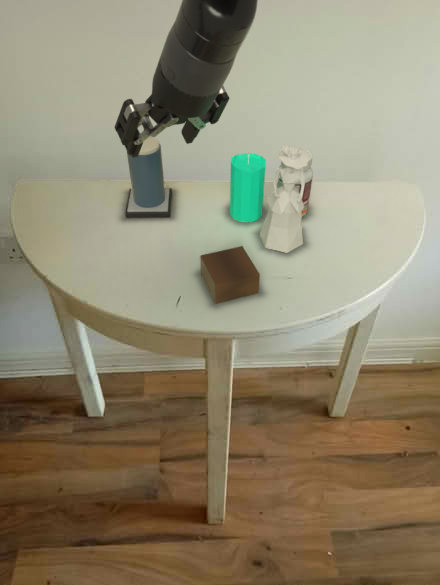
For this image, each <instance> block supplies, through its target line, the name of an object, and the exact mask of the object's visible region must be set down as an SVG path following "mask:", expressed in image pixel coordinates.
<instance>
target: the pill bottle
mask: <svg viewBox="0 0 440 585" xmlns="http://www.w3.org/2000/svg"><path fill="white" fill-rule="evenodd" d="M292 147H293V146H292ZM293 148H299V149H300V150H301V151H303V152H304V153H305V154H306V155H307V156H308V160H307V166H304V167H302V168H303V170H304V171H303V176H304V183H305V186H304V191H303V196H302V201H303V205H304V208H303V209H302V217H304V216H305V215H306V214H307V212H308V209H309V204H310V196H311V190H312V184H313V179H314V178H313V177H314V171H313V168H312V162H313V153H312V152H311V151H310V150H308V149H306V148H304V147H296V146H294V147H293ZM284 166H285V164H284V163H283V162H282V161H281V160H280V165H279V166H278V167H281V168H283V167H284ZM299 177H300V176H299ZM281 186H283V182H282V178H281V175H280V178H279V180H278V183H277V188H279V187H281ZM294 187H295V188H298V191H299V193H300V191H301V180H300V178H299V179H298V182H297V183H295V186H294Z"/></svg>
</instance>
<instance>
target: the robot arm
mask: <svg viewBox="0 0 440 585" xmlns="http://www.w3.org/2000/svg"><path fill="white" fill-rule="evenodd" d="M257 10H258V0H181V4H180V6H179V9H178V12H177V15H176V18H175V21H174V22H173V24H172V26H171V27H170V30H169V31H168V34H167V35H166V39H165V41H164V45H163V48H162V50H161V53H160V56H159V59H158V62H157V64H156V67H155V70H154V74H153V77H152V84H151V85H152V87H151V94H150V95H149V96H148V98H146V99H145V102H143V103H141V102H140V103H136V104H135V102H134V100H133V99H132V98H127V99H125V100H124V101H123V102H122V105H121V108H120V111H119V114H118V116H117V119H116V122H115V123H114V124H115V125H114V127H113V128H114V130H115V132H116V134H117V136H118V137H119V140H120V143H121V145H122V146H124V148H125V150H126V153H127V152H128V154H129V155H131V156H132V158H134V157H138V155H139V152H140V150H141V147H142V145H143V141H145V140H146V139H147V138H148V137H153V138H155V137H157V136H158V135H159V134H160V133H162V132H163V131H164V130H166V129H167V128H169V127H173V126H175V125H176V126H177V125H178V126H179V125H183V127H182V128H181V131H180V132H181V135H182V138H183V140H184V141H185V143H186V145H189V144H192V143H193V142H194V140H195V139H196V138H197V137H198V135H199V133H200V132H201V130H202V129H205V128H206V126H207V125H206V124H208V123H209V124H210V125H215V124H216V123H218V122H219V121H220V118H221V116H222V114H223V112H224V111H225V108H226V107H227V105H228V103H229V101H230V99H231V98H230V96H229V94H228V92H227V90H226V88H225V86H224V84H225V82H226V80H227V79H228V77H229V75H230V73H231V71H232V69H233V66H234V64H235V60H236V58H237V55H238V53H239V51H240V49H241V48H242V46H243V44H244V42H245V40H246V38H247V36H248V34H249V33H250V30H251V29H252V27H253V23H254V21H255V17H256V13H257ZM151 120H152V121H153V122H155V124H156V125H155V126H154V125H153V123H152V121H151ZM141 126H142V129H143V131H141V132H140V130H139V129H138V128H140V127H141Z"/></svg>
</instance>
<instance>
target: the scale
mask: <svg viewBox="0 0 440 585" xmlns="http://www.w3.org/2000/svg"><path fill="white" fill-rule="evenodd" d="M164 188H165V201H164V202H163V203H162V204H161V205H159V206H156V207H152V208H144V207H140V206H138V205H137V204H135V202H134V199H133V192H132V187H131V188H129V191H128V196H127V202H126V207H125V213H124V215H125V218H126V219H152V218H155V219H156V218H160V219H161V218H165V219H166V218H171V211H172V201H173V200H172V198H173V188H171V187H164Z"/></svg>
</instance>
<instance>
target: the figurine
mask: <svg viewBox="0 0 440 585" xmlns="http://www.w3.org/2000/svg"><path fill="white" fill-rule="evenodd" d="M281 146H282V147H281V150H280V151H278V153H277V158H278V159H279V161H280V162H281V161H282V162H283V163H284V164H285V166H284V167H283V168H281V167H279V166H278V167H277V168H276V169H275V170H274V171H275V172H274V173H275V175H274V180H273V191H272V192H271V194H270V195H268V196H267V198H266V199H265V200H266V202H267V204H268V207H267V212H266V216H265V219H264V222H263V224H262V227H261V229H260V232H259V237H260V239H261V241H262V243H263V246H264V248H265V249H269V250H274V251H278V252H282V253H285V254H288V253H290V252H292V251H294V250H295V249H297V248H298V247H300V246H302V245H303V244H304V241H303V240H304V238H303V226H302V217H303V216H302V209H303V208H304V205H303V201H302V196H303V191H304V186H305V183H304V176H303V171H304V170H303V168H302V167H304V166H307V160H308V156H307V155H306V154H305V153H304V152H303V151H301V150H300V149H299V148H300V147H298V148H293V146H288V144H286V143H285V144H284V143H282V144H281ZM280 175H281V178H282V182H283V186H281V187H279V188H277V183H278V180H279V178H280ZM299 176H300V177H299ZM299 178H300V180H301V191H300V193H299V191H298V188H295V187H294V186H295V183H297V182H298V179H299Z"/></svg>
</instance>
